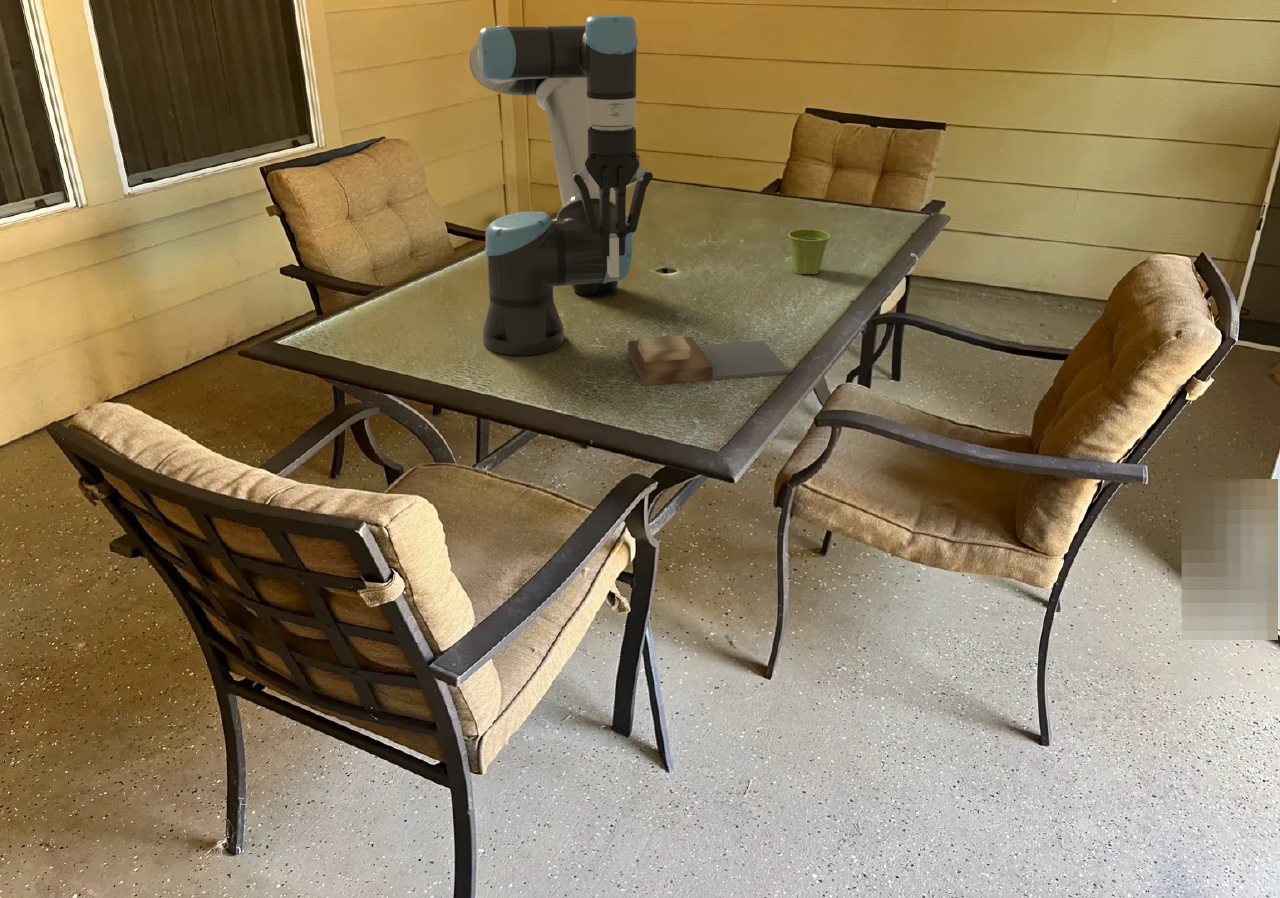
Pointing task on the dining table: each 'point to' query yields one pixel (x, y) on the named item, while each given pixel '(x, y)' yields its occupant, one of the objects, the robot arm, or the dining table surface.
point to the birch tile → (663, 348)
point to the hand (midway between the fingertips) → (613, 274)
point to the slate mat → (743, 360)
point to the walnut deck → (672, 366)
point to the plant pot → (807, 249)
